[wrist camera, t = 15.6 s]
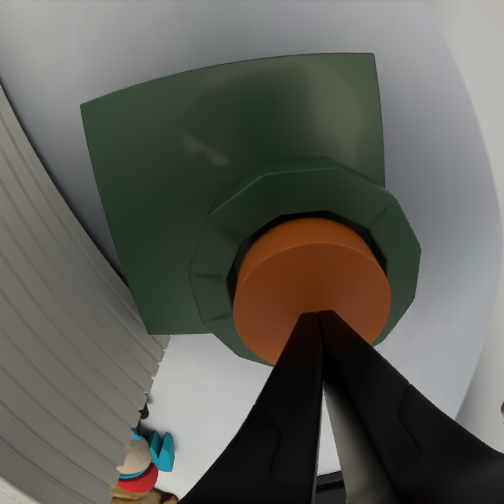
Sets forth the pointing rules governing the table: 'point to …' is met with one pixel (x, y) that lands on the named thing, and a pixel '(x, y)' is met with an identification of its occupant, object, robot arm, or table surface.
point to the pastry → (141, 497)
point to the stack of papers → (62, 343)
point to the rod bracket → (330, 489)
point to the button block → (241, 179)
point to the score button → (307, 283)
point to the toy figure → (145, 459)
